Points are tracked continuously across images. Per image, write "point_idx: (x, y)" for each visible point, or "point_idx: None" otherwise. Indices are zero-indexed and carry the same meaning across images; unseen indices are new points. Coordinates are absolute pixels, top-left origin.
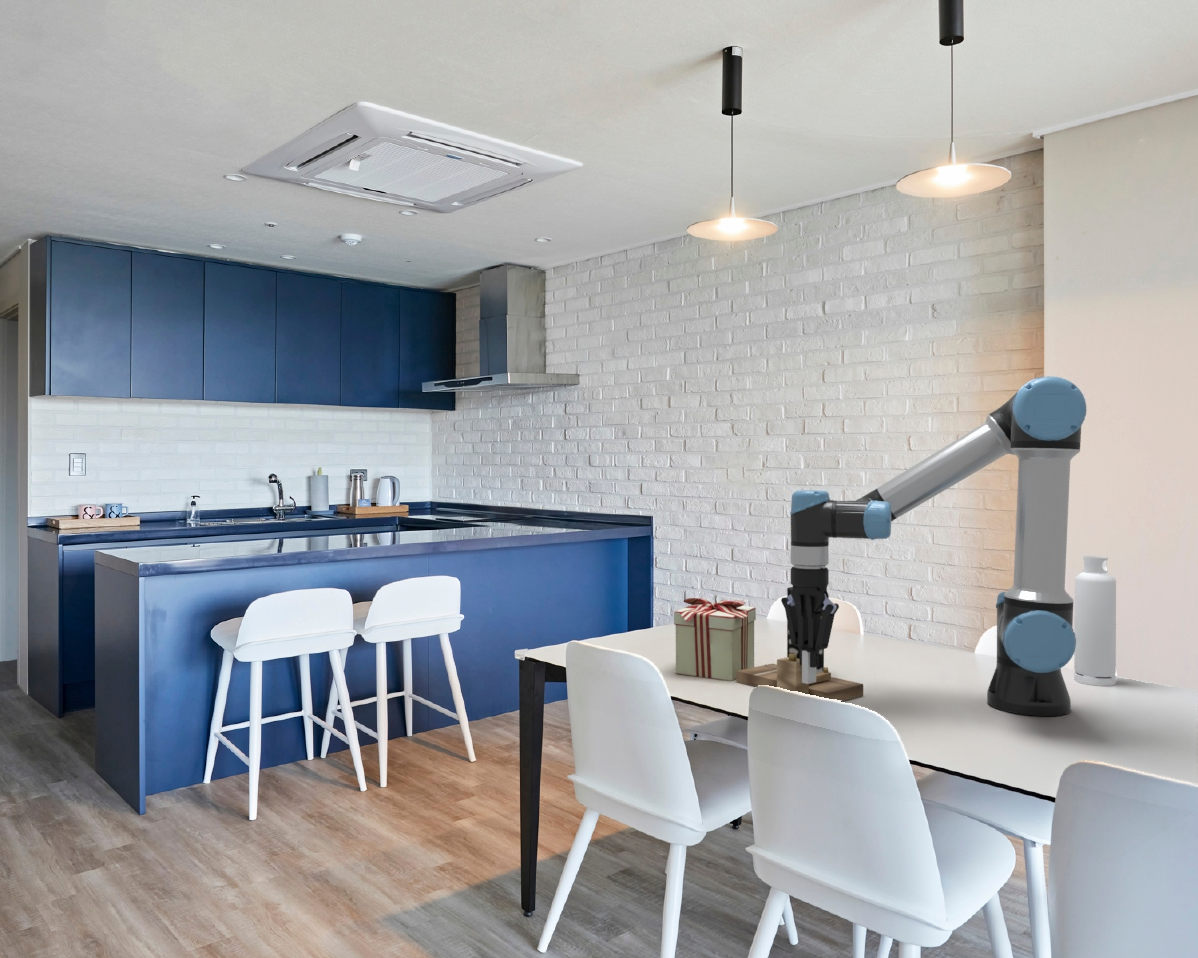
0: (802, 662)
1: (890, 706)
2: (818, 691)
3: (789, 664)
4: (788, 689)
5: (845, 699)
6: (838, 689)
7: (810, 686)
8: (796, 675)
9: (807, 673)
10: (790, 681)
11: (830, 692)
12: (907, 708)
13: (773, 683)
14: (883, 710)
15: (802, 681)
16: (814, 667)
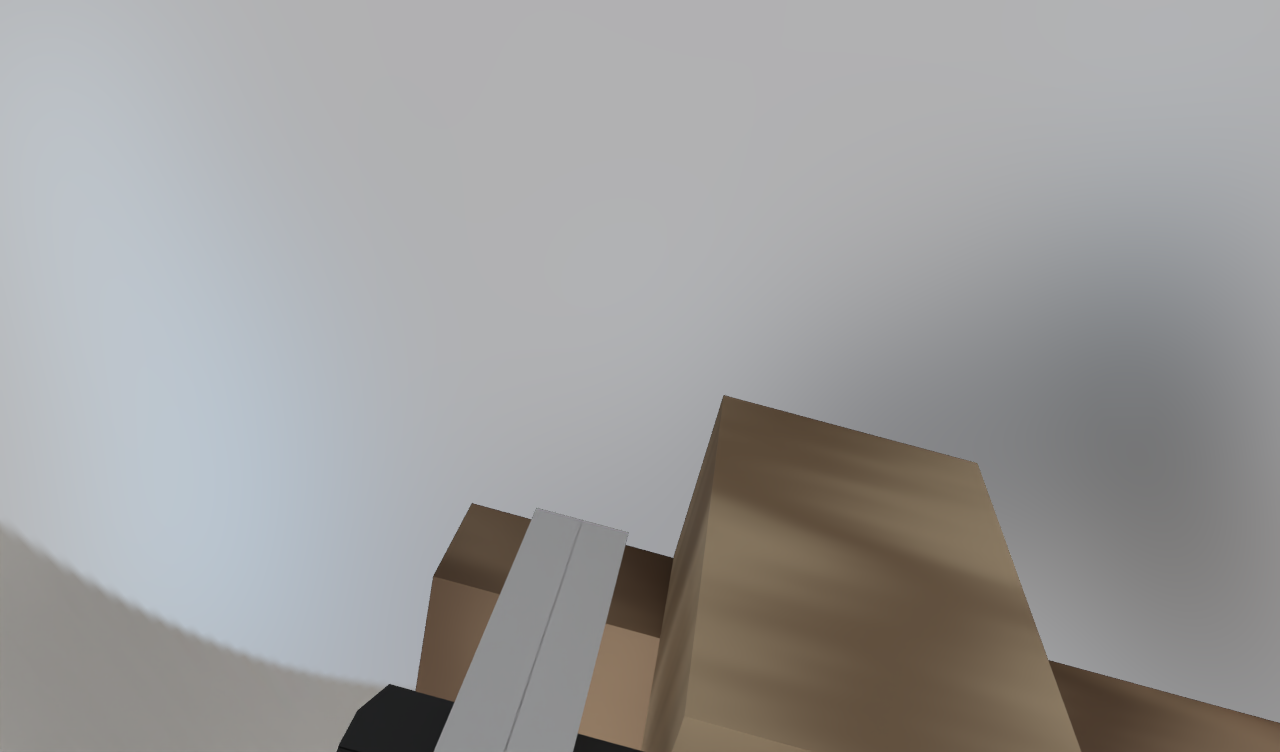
0: (565, 744)
1: (123, 699)
2: None
3: (825, 723)
4: (825, 486)
5: None
6: None
7: None
8: (698, 589)
9: (504, 598)
10: (798, 541)
11: (428, 612)
12: (21, 705)
13: (1136, 739)
14: (83, 587)
15: (617, 539)
16: (387, 695)
